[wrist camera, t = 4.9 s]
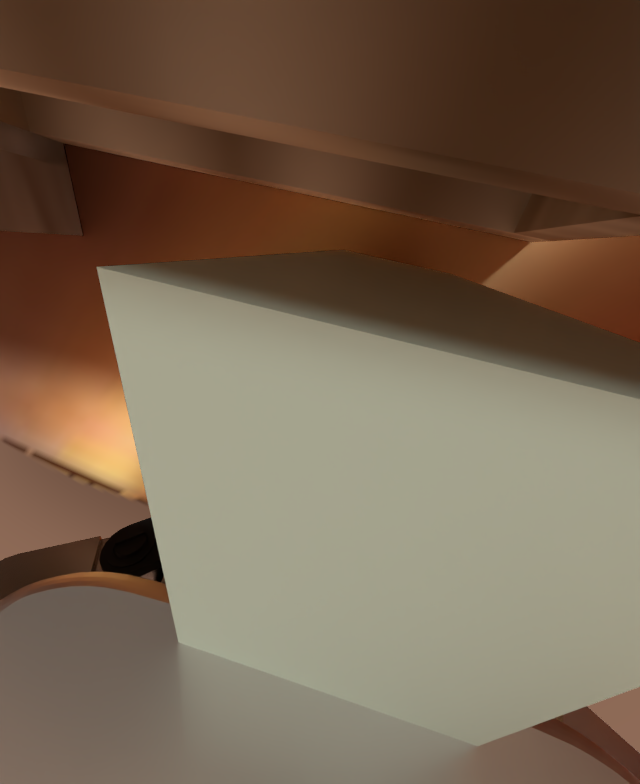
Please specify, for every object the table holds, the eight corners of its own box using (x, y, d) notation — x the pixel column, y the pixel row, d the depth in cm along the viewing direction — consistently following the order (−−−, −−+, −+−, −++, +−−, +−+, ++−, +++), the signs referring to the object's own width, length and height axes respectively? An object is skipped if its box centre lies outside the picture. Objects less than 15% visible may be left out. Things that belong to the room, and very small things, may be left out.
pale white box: (450, 273, 10) (1108, 515, 1) (362, 492, 16) (342, 795, 7) (321, 245, 10) (-53, 229, 1) (283, 469, 16) (173, 732, 7)
